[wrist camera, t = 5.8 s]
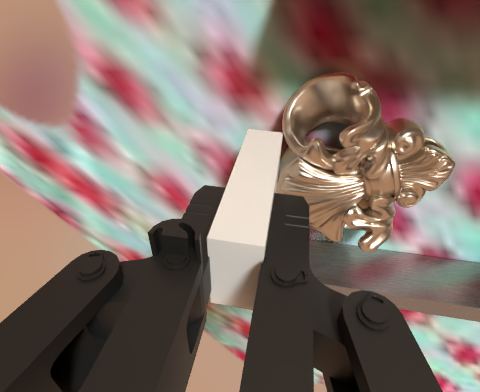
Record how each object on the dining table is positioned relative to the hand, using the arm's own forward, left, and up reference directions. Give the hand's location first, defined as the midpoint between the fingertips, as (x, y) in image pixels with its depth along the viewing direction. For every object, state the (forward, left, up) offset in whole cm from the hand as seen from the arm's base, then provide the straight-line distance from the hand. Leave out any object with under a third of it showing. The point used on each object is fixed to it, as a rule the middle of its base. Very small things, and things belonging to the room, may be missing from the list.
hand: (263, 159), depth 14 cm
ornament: (+2, +3, -2) cm, 4 cm away
